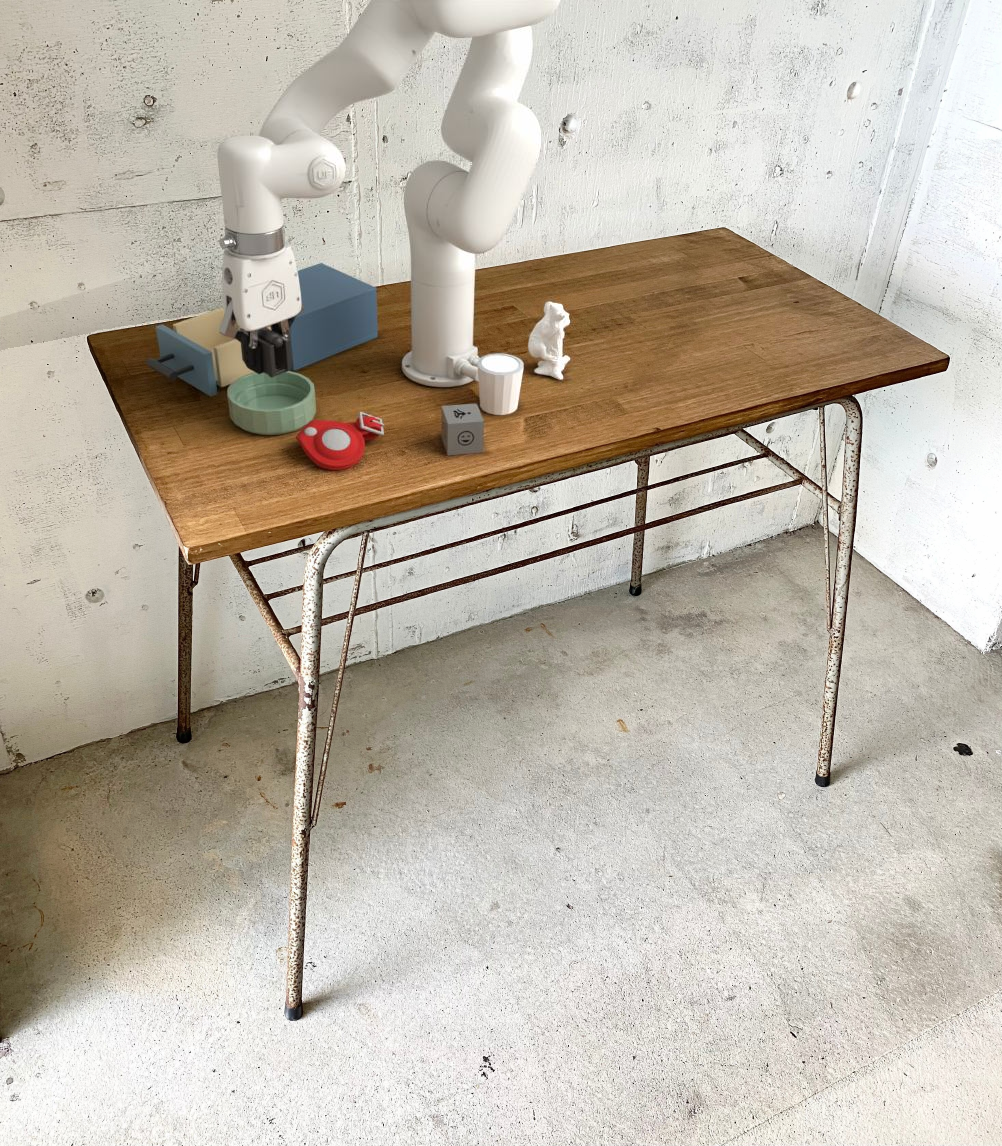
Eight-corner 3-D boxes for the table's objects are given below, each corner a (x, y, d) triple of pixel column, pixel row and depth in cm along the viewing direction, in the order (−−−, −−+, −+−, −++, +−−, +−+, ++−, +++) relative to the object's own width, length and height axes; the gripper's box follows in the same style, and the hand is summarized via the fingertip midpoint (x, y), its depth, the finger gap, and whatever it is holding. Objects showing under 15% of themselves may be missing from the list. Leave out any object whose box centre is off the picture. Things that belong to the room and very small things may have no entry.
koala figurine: (575, 383, 170) (582, 310, 163) (532, 384, 170) (537, 311, 162) (565, 358, 177) (571, 287, 170) (524, 359, 176) (528, 288, 169)
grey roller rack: (292, 371, 153) (290, 334, 150) (273, 379, 151) (270, 341, 148) (260, 354, 157) (257, 317, 153) (241, 361, 155) (237, 324, 151)
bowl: (333, 416, 159) (331, 390, 157) (266, 446, 152) (263, 420, 150) (280, 386, 166) (278, 361, 163) (213, 414, 158) (209, 388, 156)
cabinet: (293, 371, 170) (289, 319, 165) (240, 342, 177) (234, 291, 172) (378, 337, 180) (376, 287, 175) (324, 310, 187) (321, 262, 182)
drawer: (185, 406, 158) (179, 363, 154) (137, 376, 165) (129, 335, 160) (299, 361, 171) (296, 320, 166) (250, 335, 177) (245, 295, 173)
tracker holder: (349, 471, 146) (284, 440, 147) (347, 492, 149) (283, 461, 151) (392, 414, 153) (329, 384, 154) (389, 435, 156) (328, 405, 157)
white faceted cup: (493, 389, 168) (495, 348, 163) (530, 404, 165) (533, 361, 160) (466, 407, 163) (467, 364, 159) (504, 421, 160) (506, 378, 156)
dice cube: (441, 436, 156) (441, 405, 153) (475, 434, 157) (476, 403, 154) (447, 455, 152) (448, 424, 149) (482, 452, 153) (483, 421, 150)
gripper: (220, 262, 136) (234, 394, 147) (323, 231, 146) (329, 357, 157) (184, 244, 140) (201, 374, 151) (287, 215, 150) (296, 339, 161)
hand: (266, 364), depth 154 cm, fingers closed on grey roller rack, 3 cm apart
